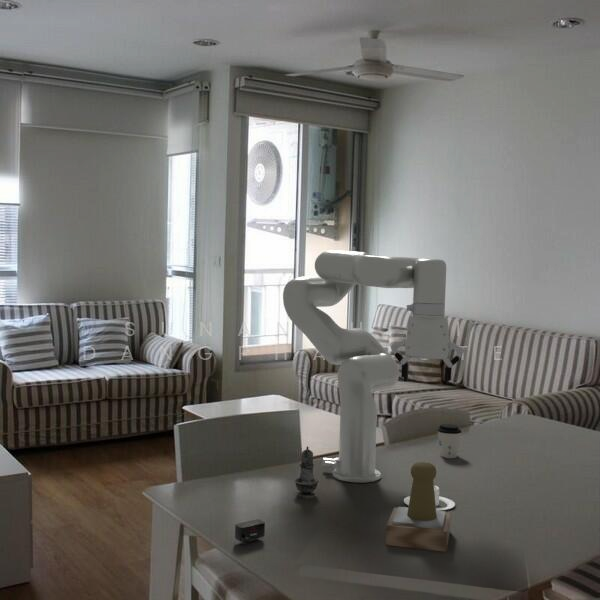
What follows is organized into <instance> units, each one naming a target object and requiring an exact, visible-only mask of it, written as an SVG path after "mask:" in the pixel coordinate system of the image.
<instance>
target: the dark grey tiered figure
mask: <svg viewBox="0 0 600 600" xmlns="http://www.w3.org/2000/svg"><path fill="white" fill-rule="evenodd" d="M299 467H300V474H299V477H297V478H294V480H293V481H294V484H295V487H296V489H297V490H298V492H296V493H295V494H294V495H295V497H296V498H299V499H304V500H305V499H306V500H309V499H315V498H317V497H316V496H318V494H317V493H316V492H314V491H315V490H316V489H317V487H318V483H319V481H320V480H318V478H315V477H314V467H315V463H314V452H313V451H312V450H310V449H309V446H308V445H307V447H306V449H304V450H303V451H302V452H301V462H300V464H299Z"/></svg>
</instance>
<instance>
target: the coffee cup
mask: <svg viewBox="0 0 600 600" xmlns="http://www.w3.org/2000/svg"><path fill="white" fill-rule="evenodd" d="M436 431H437V437H438V448H439V456H440V457H442V458H445V459H446V458H447V459H454V458H457V457H458V453H459V446H460V441H461V435H462V434H461V433H462V429H461V428H459V426H458V425H457V424H451V423H447V424H446V423H444V424H443V423H442V424H440V425H439V427H438V428H437V430H436Z"/></svg>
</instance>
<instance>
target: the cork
mask: <svg viewBox="0 0 600 600" xmlns="http://www.w3.org/2000/svg"><path fill="white" fill-rule="evenodd" d="M410 475H411V478H412V484H411V490H410V494H409V495H410V501H409V505H408V507H407V508H408V513H407V516H408V517H409V518H412V519H415V520H420V521H431V520H434V519H436V518H437V515H436V508H437V506H436V504H435V493H434V486H435V485H434V484H435V483H434V479H436V477H437V469H436V465H434V464H433V463H430V462H424V461H423V462H422V461H421V462H415V463H413V464H412V466H411V468H410Z"/></svg>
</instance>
